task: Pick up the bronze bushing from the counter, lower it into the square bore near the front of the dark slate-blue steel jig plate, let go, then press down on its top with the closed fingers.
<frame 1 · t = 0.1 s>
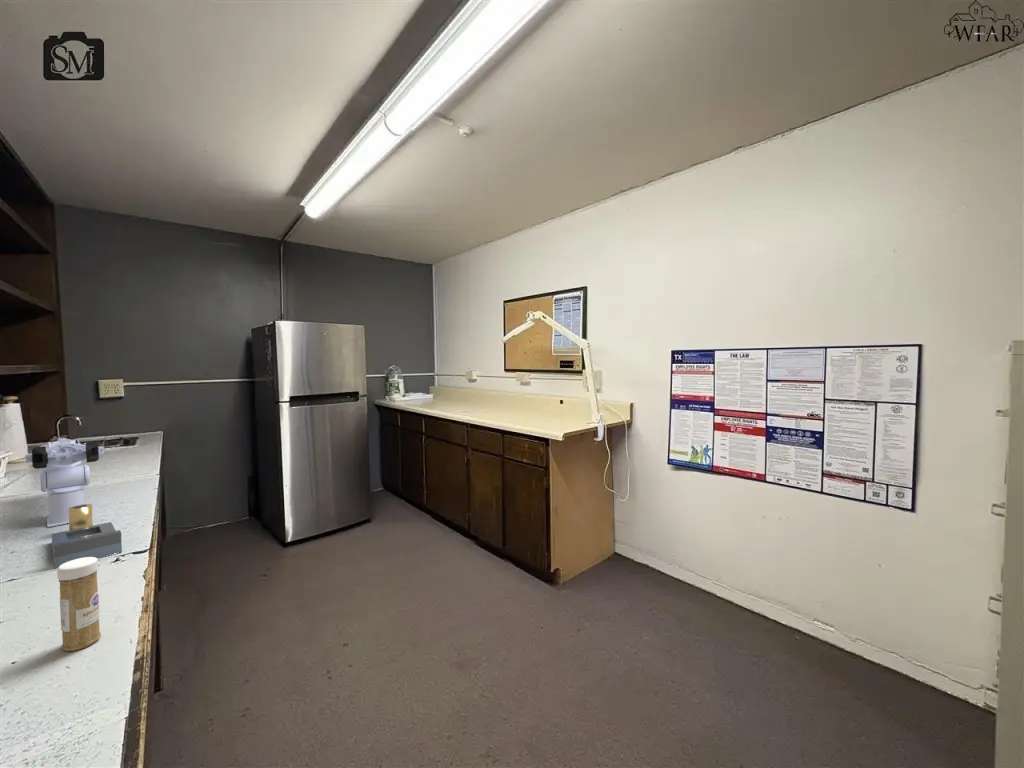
hand: (68, 456, 109), 22 cm above the counter, tool horizontal, fingers open, 7 cm apart
sprinkles bottle: (81, 644, 69), on the counter
jig plate: (86, 548, 104), on the counter
bushing: (81, 532, 114), on the counter
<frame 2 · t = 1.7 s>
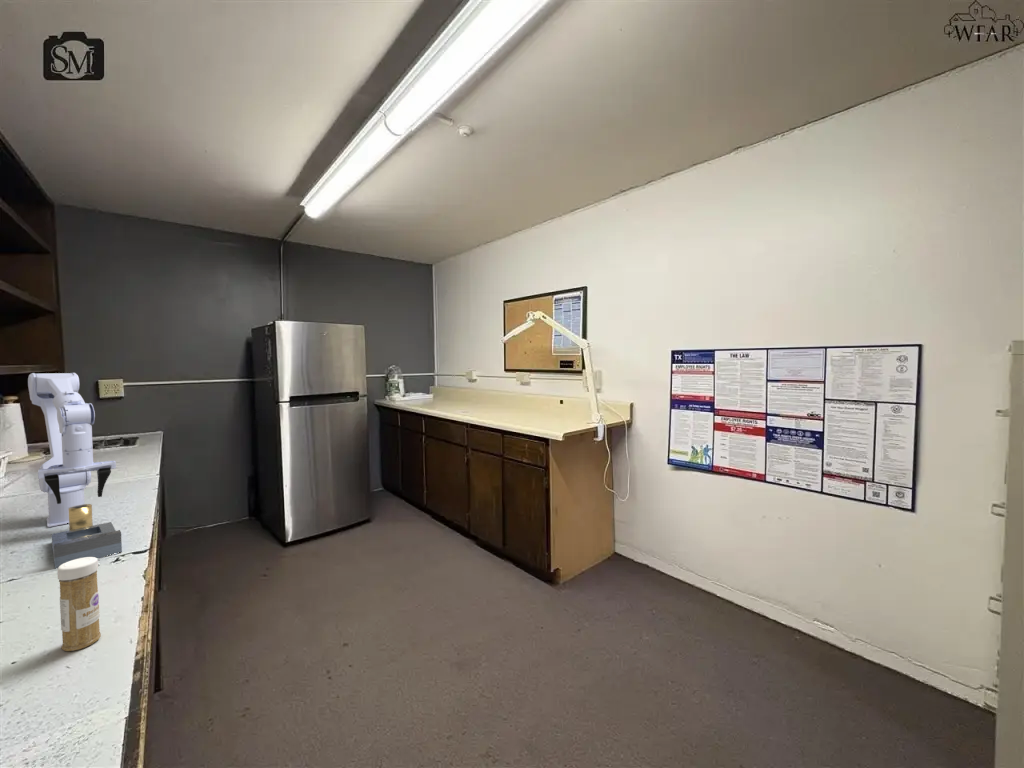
hand: (79, 499, 114), 9 cm above the counter, tool pointing down, fingers open, 7 cm apart
nothing on the counter moved.
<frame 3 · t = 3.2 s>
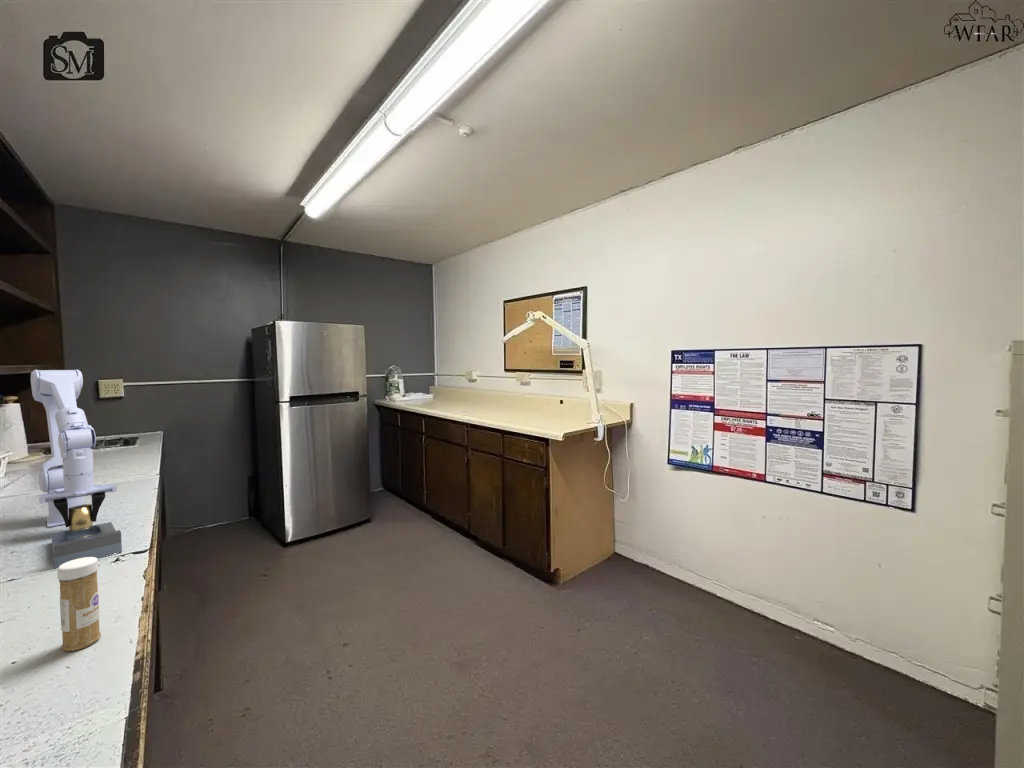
hand: (81, 523, 114), 2 cm above the counter, tool pointing down, fingers closed on bushing, 4 cm apart
bushing: (81, 532, 114), on the counter, touching gripper
everything else where it was.
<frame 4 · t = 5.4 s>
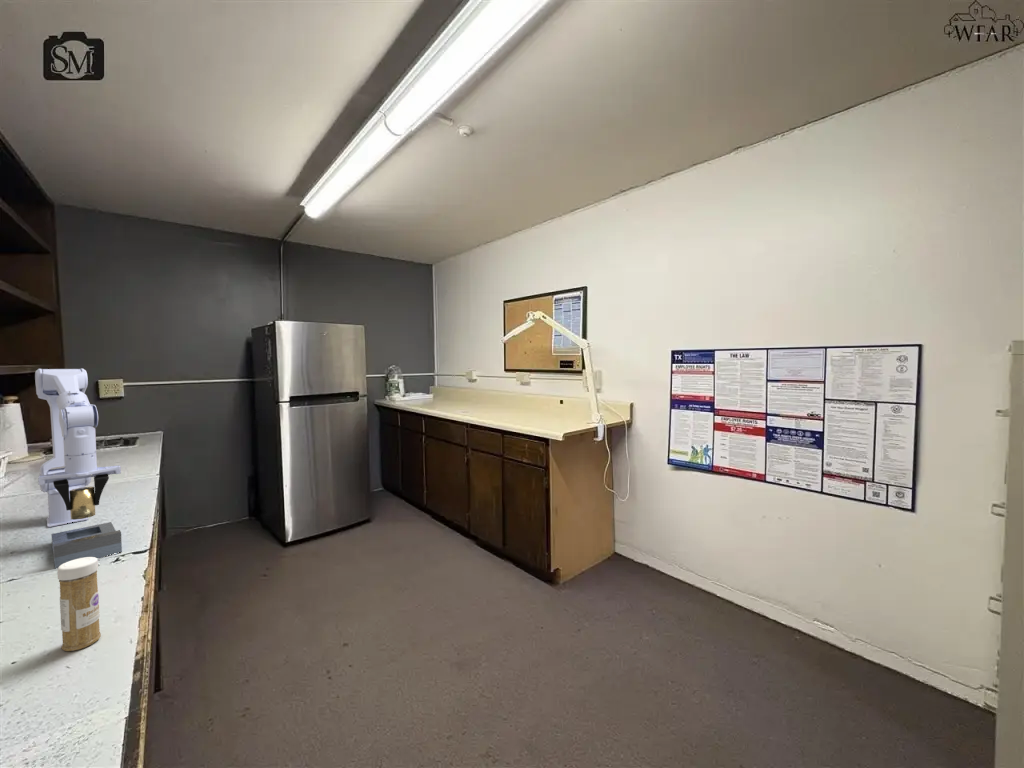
hand: (82, 506, 107), 9 cm above the counter, tool pointing down, fingers closed on bushing, 4 cm apart
bushing: (83, 516, 108), point 7 cm above the counter, touching gripper
everything else where it was.
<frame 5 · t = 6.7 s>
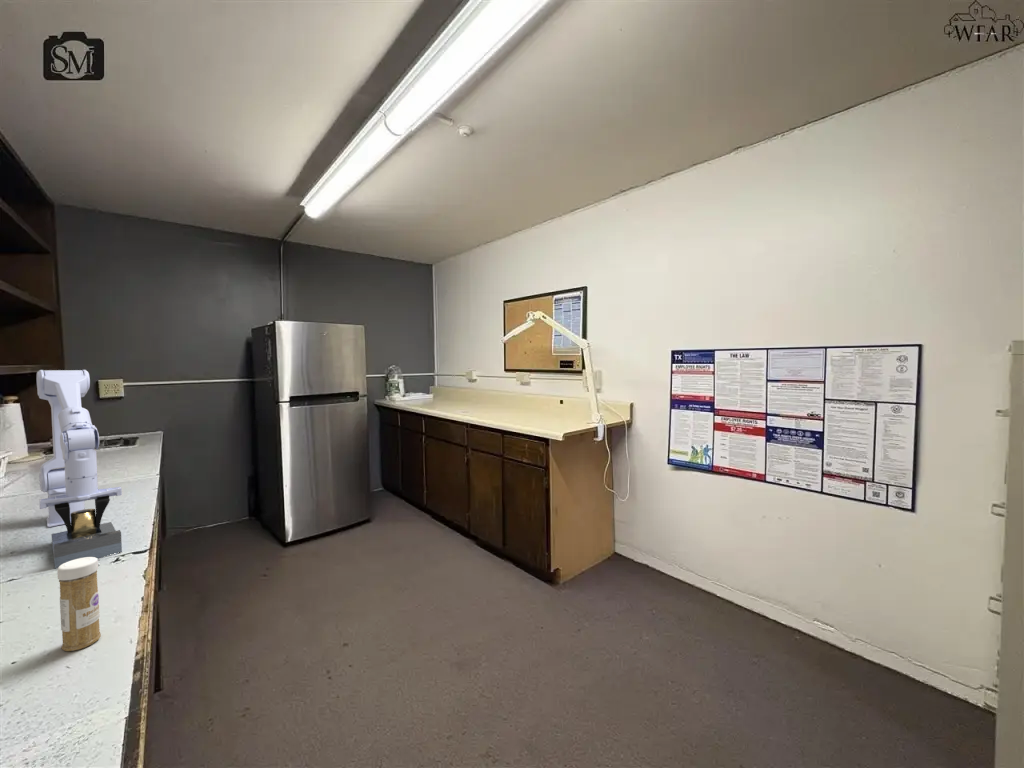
hand: (83, 529, 108), 3 cm above the counter, tool pointing down, fingers closed on bushing, 4 cm apart
bushing: (84, 538, 108), point 1 cm above the counter, touching gripper
everything else where it was.
when the fingers open (3 cm above the counter, at t = 7.5 s): bushing stays where it is, resting in jig plate.
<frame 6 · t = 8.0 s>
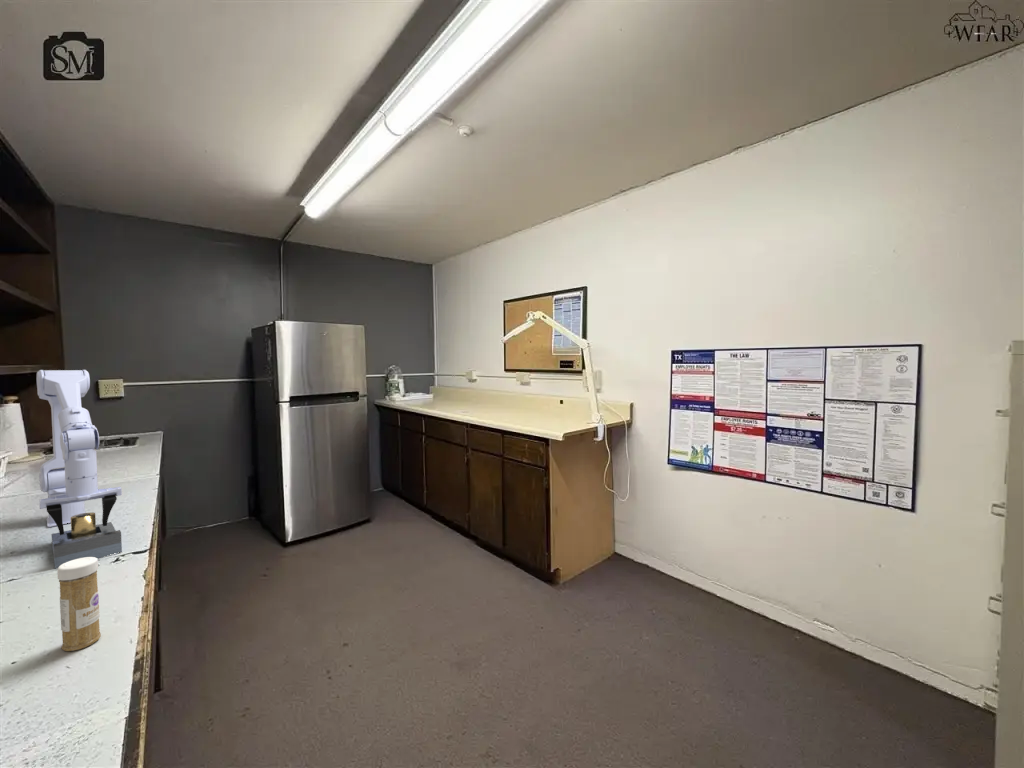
hand: (83, 529, 108), 3 cm above the counter, tool pointing down, fingers open, 7 cm apart
bushing: (84, 542, 108), resting in jig plate
everything else where it was.
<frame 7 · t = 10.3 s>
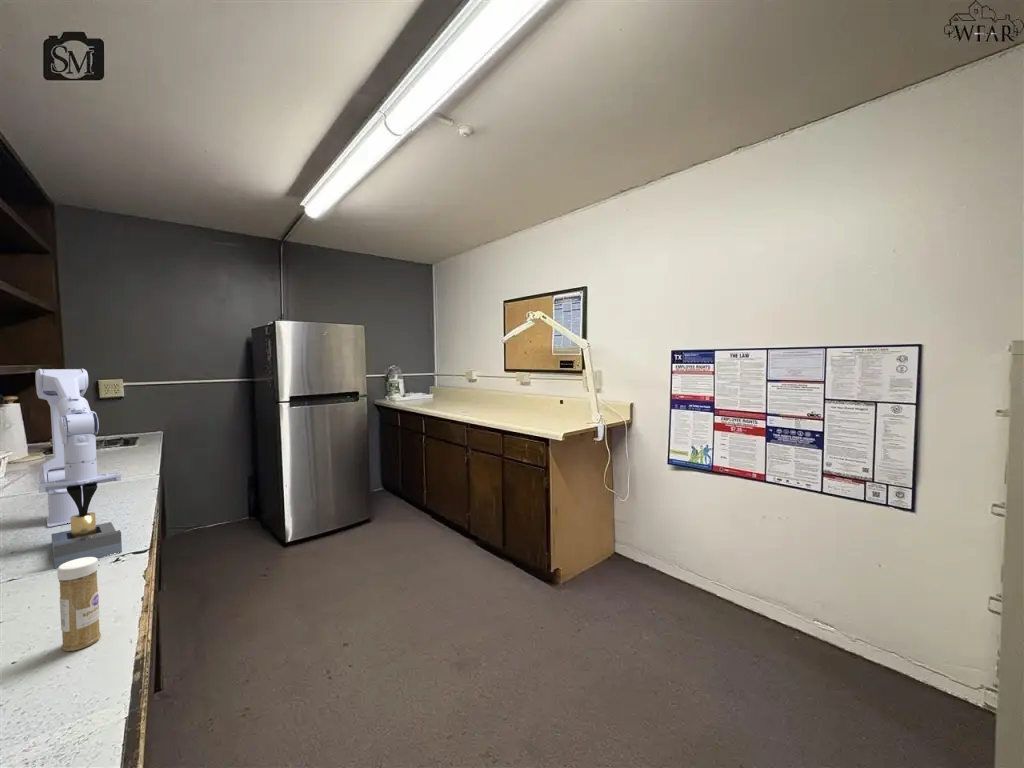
hand: (83, 514, 107), 7 cm above the counter, tool pointing down, fingers closed
nothing on the counter moved.
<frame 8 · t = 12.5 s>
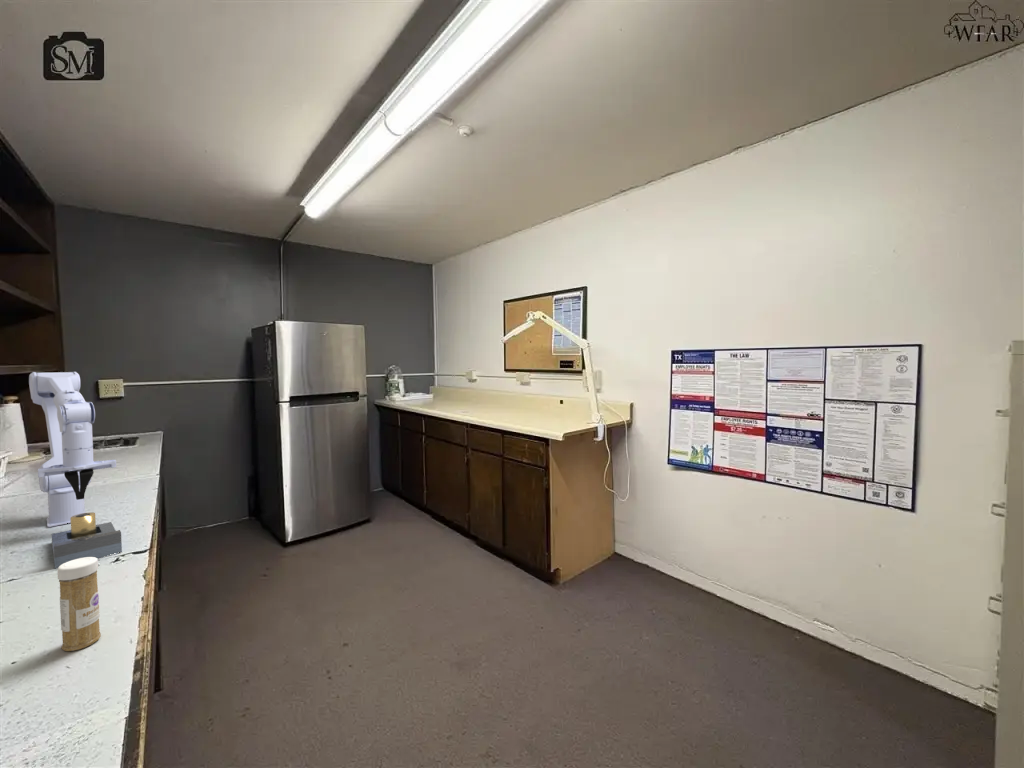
hand: (80, 498, 113), 9 cm above the counter, tool pointing down, fingers closed
nothing on the counter moved.
at the end: bushing 0.0 cm from the target spot on the jig plate, point 0.0 cm above the jig plate's base; bushing tilted 0°; the gripper is holding nothing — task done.
